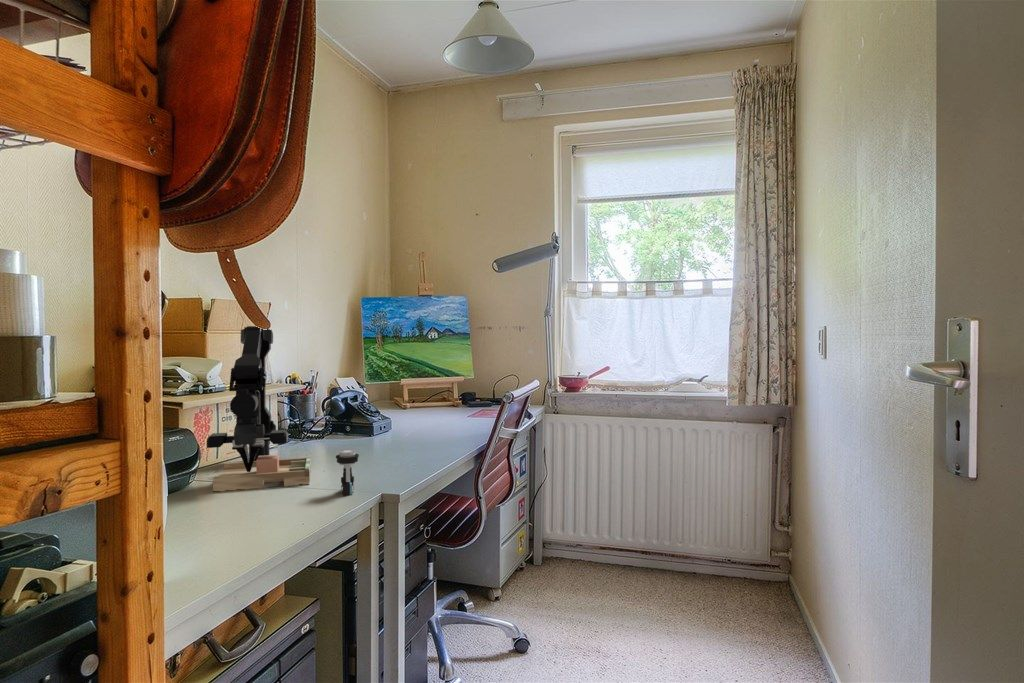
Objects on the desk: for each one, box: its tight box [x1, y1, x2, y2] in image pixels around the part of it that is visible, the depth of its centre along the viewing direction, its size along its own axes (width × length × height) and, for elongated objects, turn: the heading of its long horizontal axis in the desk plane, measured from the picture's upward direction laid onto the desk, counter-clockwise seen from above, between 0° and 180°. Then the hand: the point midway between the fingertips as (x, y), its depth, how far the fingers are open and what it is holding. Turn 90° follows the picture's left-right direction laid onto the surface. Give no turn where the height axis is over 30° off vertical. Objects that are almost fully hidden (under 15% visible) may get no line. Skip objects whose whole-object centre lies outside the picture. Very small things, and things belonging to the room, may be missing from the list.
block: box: [255, 454, 280, 474], centre depth 151 cm, size 5×5×4 cm
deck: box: [212, 455, 312, 492], centre depth 151 cm, size 16×22×4 cm
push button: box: [335, 449, 360, 496], centre depth 140 cm, size 7×5×10 cm
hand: (248, 471), depth 149 cm, fingers closed
